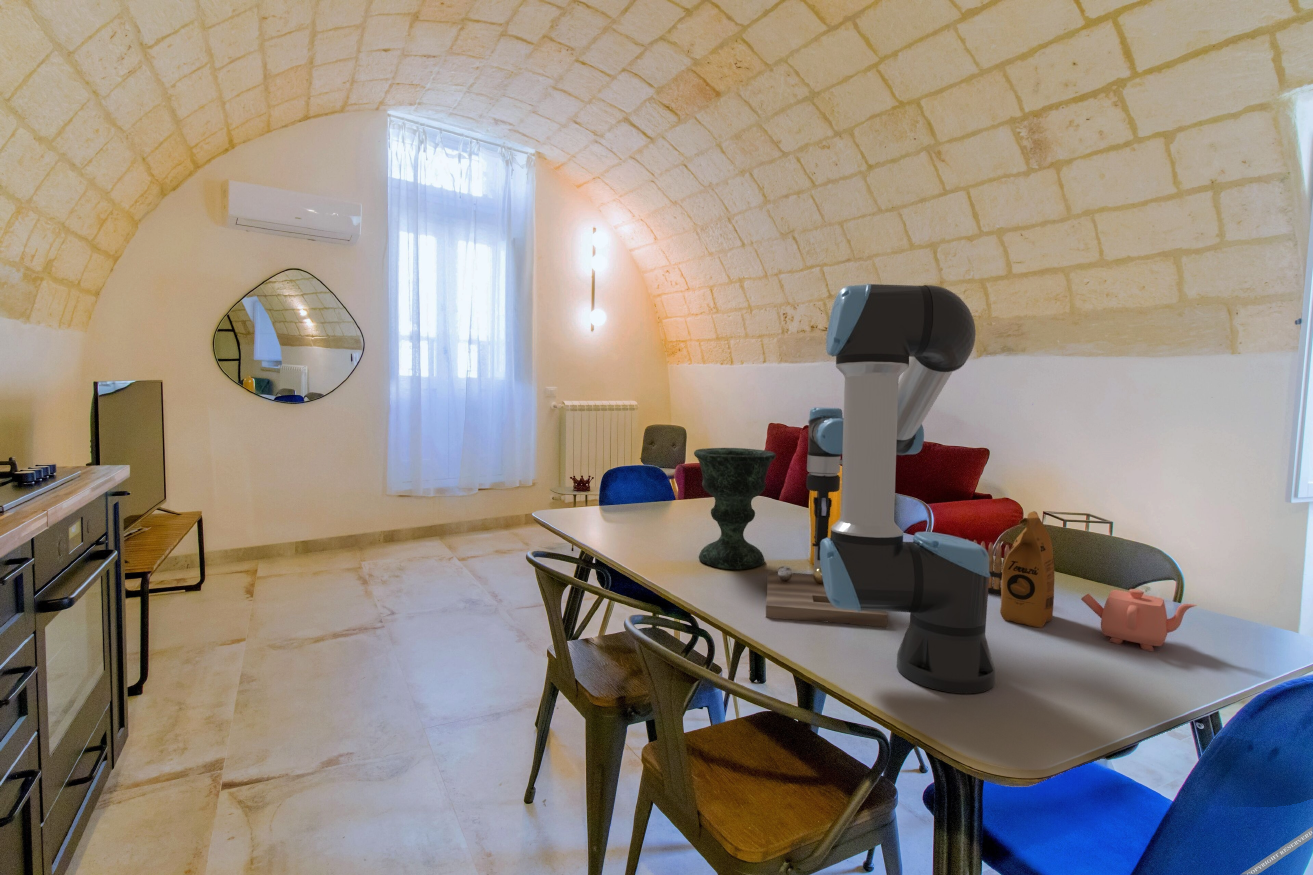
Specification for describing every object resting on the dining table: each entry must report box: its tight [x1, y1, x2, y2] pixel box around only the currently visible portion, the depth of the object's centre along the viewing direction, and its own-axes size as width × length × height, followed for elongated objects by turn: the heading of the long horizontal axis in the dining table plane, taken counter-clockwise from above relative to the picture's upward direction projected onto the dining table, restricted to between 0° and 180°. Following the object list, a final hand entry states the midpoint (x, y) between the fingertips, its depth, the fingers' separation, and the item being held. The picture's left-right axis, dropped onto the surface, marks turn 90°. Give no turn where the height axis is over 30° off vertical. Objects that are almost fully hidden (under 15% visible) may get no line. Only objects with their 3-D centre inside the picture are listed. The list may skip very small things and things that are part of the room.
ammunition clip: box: [965, 538, 1010, 596], centre depth 159 cm, size 11×2×12 cm, turn 52°
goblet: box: [693, 447, 777, 571], centre depth 181 cm, size 22×23×30 cm
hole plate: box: [765, 570, 888, 628], centre depth 149 cm, size 26×24×2 cm
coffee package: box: [999, 511, 1055, 629], centre depth 141 cm, size 10×12×22 cm
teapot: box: [1080, 588, 1198, 652], centre depth 129 cm, size 14×12×10 cm
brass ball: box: [812, 568, 823, 583], centre depth 155 cm, size 4×4×4 cm
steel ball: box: [777, 565, 794, 581], centre depth 156 cm, size 4×4×4 cm
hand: (819, 572), depth 158 cm, fingers closed
